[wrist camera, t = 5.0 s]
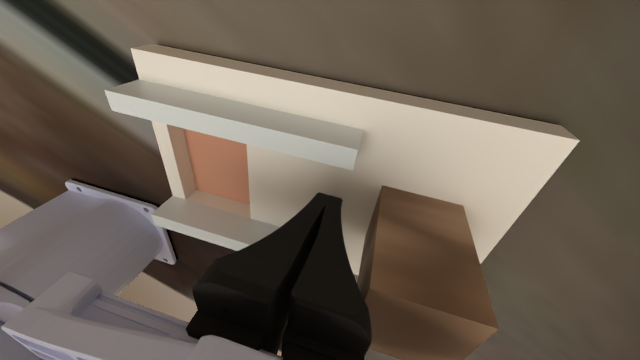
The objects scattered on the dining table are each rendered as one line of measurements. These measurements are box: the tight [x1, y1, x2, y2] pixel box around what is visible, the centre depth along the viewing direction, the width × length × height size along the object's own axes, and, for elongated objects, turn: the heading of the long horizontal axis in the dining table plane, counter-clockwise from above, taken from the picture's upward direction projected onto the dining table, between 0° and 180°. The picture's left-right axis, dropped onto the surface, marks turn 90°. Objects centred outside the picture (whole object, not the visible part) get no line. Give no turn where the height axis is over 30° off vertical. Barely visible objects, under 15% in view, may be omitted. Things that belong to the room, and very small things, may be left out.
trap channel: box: [104, 44, 580, 275], centre depth 15 cm, size 20×12×4 cm, turn 83°
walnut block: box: [357, 185, 498, 360], centre depth 12 cm, size 4×4×6 cm
